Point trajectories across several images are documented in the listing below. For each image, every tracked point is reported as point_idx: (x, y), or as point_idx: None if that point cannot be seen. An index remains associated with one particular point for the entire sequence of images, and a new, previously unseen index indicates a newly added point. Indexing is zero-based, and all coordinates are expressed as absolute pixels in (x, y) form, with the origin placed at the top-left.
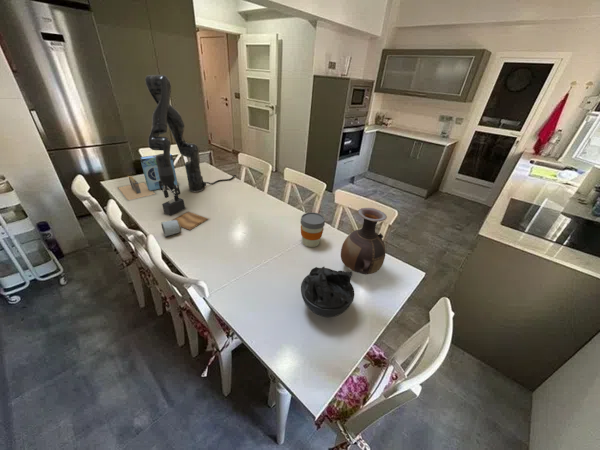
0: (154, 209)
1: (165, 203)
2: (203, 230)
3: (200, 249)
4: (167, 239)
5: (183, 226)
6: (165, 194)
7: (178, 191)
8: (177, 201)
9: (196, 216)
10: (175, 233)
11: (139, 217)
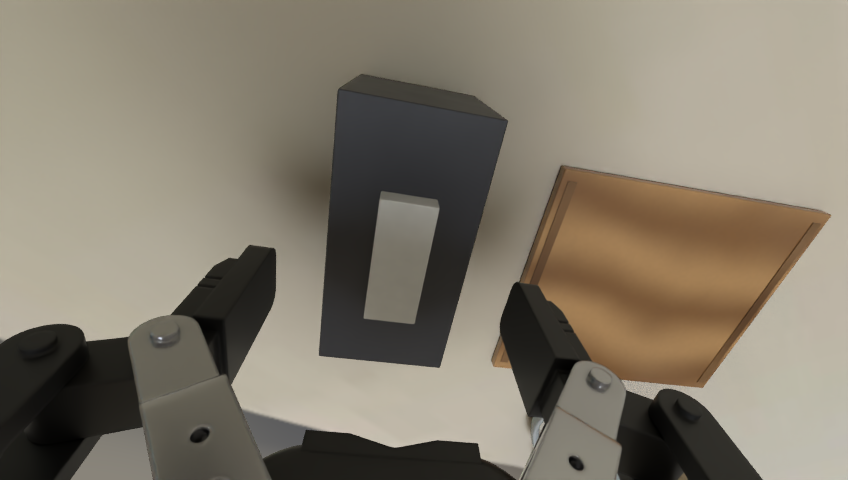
0: (176, 248)
1: (349, 332)
2: (800, 351)
3: (812, 471)
4: None
5: (641, 376)
6: (250, 339)
7: (705, 476)
8: (461, 228)
9: (698, 223)
10: None
11: None
